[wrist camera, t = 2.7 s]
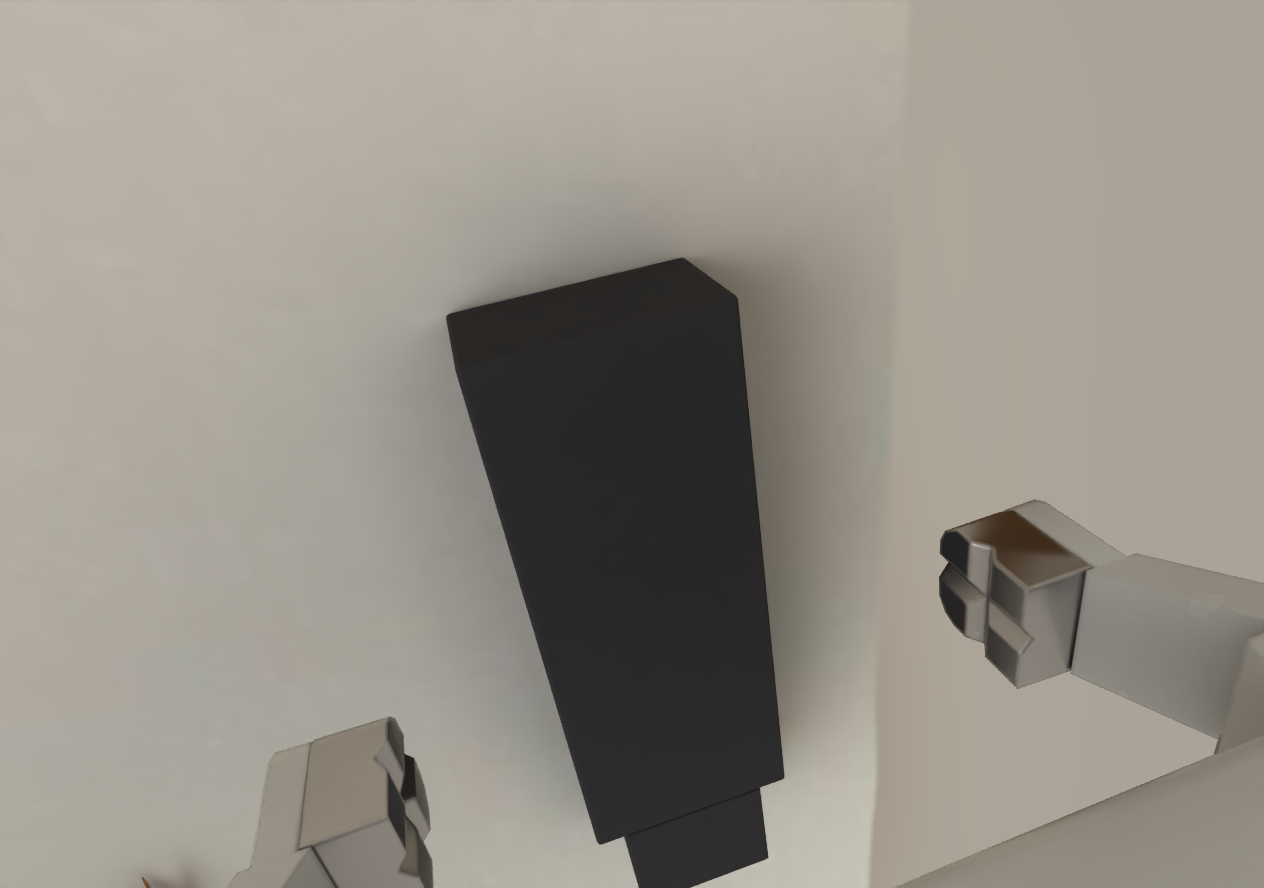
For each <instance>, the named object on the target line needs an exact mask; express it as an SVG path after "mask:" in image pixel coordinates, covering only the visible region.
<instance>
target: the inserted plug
mask: <svg viewBox="0 0 1264 888" xmlns="http://www.w3.org/2000/svg"><path fill="white" fill-rule="evenodd" d="M446 320H447V326H448V331H449V337H450V342H451V348H452V353H453V359H454V364H455V370H456V374H457V377H458V380H459V384H460V387H461V390H462V394H463V397H464V400H465V404H466V407H467V410H468V413H469V417H470V420H471V423H472V427H473V430H474V433H475V437H476V440H477V443H478V447H479V450H480V453H481V457H482V460H483V463H484V467H485V470H486V473H487V477H488V480H489V483H490V487H491V490H492V493H493V497H494V500H495V503H496V507H497V510H498V513H499V517H500V520H501V523H502V527H503V530H504V533H505V537H506V540H507V543H508V547H509V550H510V553H511V557H512V560H513V563H514V567H515V570H516V573H517V577H518V580H519V583H520V587H521V590H522V593H523V597H524V600H525V603H526V607H527V610H528V613H529V617H530V620H531V623H532V627H533V630H534V633H535V637H536V640H537V643H538V647H539V650H540V653H541V657H542V660H543V663H544V667H545V670H546V673H547V677H548V680H549V683H550V687H551V690H552V693H553V697H554V700H555V703H556V707H557V710H558V713H559V717H560V720H561V723H562V727H563V730H564V733H565V737H566V740H567V743H568V747H569V750H570V753H571V757H572V760H573V763H574V767H575V770H576V773H577V777H578V780H579V783H580V787H581V790H582V793H583V797H584V800H585V803H586V807H587V810H588V813H589V817H590V820H591V823H592V827H593V830H594V833H595V836H596V840H597V842H598V844H604V843H607V842H610V841H612V840H615V839H618V838H621V837H624V838H625V841H626V845H627V848H628V852H629V855H630V858H631V862H632V865H633V869H634V872H635V876H636V879H637V883H638V886H639V888H691V887H693V886H696V885H699V884H701V883H704V882H706V881H709V880H712V879H714V878H717V877H720V876H722V875H725V874H728V873H730V872H733V871H736V870H738V869H741V868H744V867H746V866H749V865H752V864H754V863H757V862H760V861H762V860H765V859H767V858H768V850H767V842H766V834H765V826H764V818H763V810H762V802H761V794H760V787H762V786H765V785H768V784H771V783H774V782H776V781H779V780H782V779H783V778H784V767H783V756H782V746H781V736H780V726H779V716H778V705H777V695H776V685H775V675H774V664H773V654H772V644H771V634H770V623H769V613H768V603H767V593H766V583H765V572H764V562H763V552H762V542H761V531H760V521H759V511H758V501H757V491H756V480H755V470H754V460H753V450H752V439H751V429H750V419H749V409H748V398H747V388H746V378H745V368H744V358H743V347H742V337H741V327H740V317H739V306H738V299H737V297H736V296H735V295H734V294H732V293H731V292H730V291H728V290H727V289H725V288H724V287H723V286H721V285H720V284H719V283H717V282H716V281H715V280H713V279H712V278H710V277H709V276H708V275H706V274H705V273H704V272H702V271H701V270H699V269H698V268H697V267H695V266H694V265H693V264H691V263H690V262H689V261H687V260H686V259H684V258H679V259H675V260H671V261H667V262H662V263H658V264H654V265H650V266H646V267H642V268H638V269H634V270H629V271H625V272H621V273H617V274H613V275H609V276H605V277H600V278H596V279H592V280H588V281H584V282H580V283H576V284H571V285H567V286H563V287H559V288H555V289H551V290H547V291H543V292H538V293H534V294H530V295H526V296H522V297H518V298H514V299H509V300H505V301H501V302H497V303H493V304H489V305H485V306H481V307H476V308H472V309H468V310H464V311H460V312H456V313H452V314H449V315H447V318H446Z"/></svg>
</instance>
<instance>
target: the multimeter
mask: <svg viewBox="0 0 1264 888" xmlns="http://www.w3.org/2000/svg"><path fill="white" fill-rule="evenodd" d="M142 880H143V882H144V884H145V886H146V888H151V887H150V885H149V884H148V883H147V882H146V880H145V879H144V878H143V877H142Z"/></svg>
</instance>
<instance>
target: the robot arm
mask: <svg viewBox="0 0 1264 888" xmlns="http://www.w3.org/2000/svg"><path fill="white" fill-rule="evenodd" d="M940 554H941V555H942V556H943V557H944V558H945V559H946V560H947V561H948V564H947V565H946V567H945V569H944V570H943V572H942V573H941V575H940V577H939V596H940V598H941V601H942V604H943V607H944V610H945V612H946V614H947V615H948V617H949V619H950V620H951V622H952V623H953V625H954V626H955V627H956V628H957V629H958V630H959V631H960V632H961V633H962V634H963V635H964V636H965V637H967V638H970V639H973V640H976V641H979V642H982V643H984V644H985V657H986V658H987V659H988V660H989V661H990V662H991V663H992V664H993V665H994V666H995V667H996V668H997V669H998V670H999V671H1000V672H1001V673H1002V674H1003V675H1004V676H1005V677H1006V678H1007V679H1008V680H1009V681H1010V682H1011V683H1012V684H1013V685H1014V686H1015V687H1016V688H1017V689H1018V688H1021V687H1025V686H1027V685H1030V684H1033V683H1036V682H1039V681H1042V680H1045V679H1048V678H1051V677H1054V676H1056V675H1059V674H1062V673H1065V672H1068V671H1071V674H1073V675H1075V676H1077V677H1079V678H1082V679H1084V680H1086V681H1088V682H1090V683H1093V684H1095V685H1097V686H1099V687H1102V688H1104V689H1106V690H1108V691H1111V692H1113V693H1115V694H1117V695H1120V696H1122V697H1124V698H1126V699H1128V700H1131V701H1133V702H1136V703H1137V704H1140V705H1142V706H1144V707H1146V708H1149V709H1151V710H1153V711H1155V712H1157V713H1160V714H1162V715H1164V716H1166V717H1169V718H1171V719H1173V720H1176V721H1178V722H1180V723H1182V724H1184V725H1187V726H1189V727H1191V728H1193V729H1196V730H1198V731H1200V732H1202V733H1204V734H1207V735H1209V736H1211V737H1213V738H1216V739H1218V742H1217V745H1216V749H1215V752H1214V755H1212V756H1210V757H1207V758H1205V759H1202V760H1200V761H1197V762H1195V763H1193V764H1190V765H1188V766H1185V767H1183V768H1180V769H1178V770H1176V771H1173V772H1171V773H1169V774H1166V775H1164V776H1161V777H1159V778H1156V779H1154V780H1151V781H1149V782H1147V783H1144V784H1142V785H1139V786H1137V787H1135V788H1132V789H1130V790H1127V791H1125V792H1122V793H1120V794H1118V795H1115V796H1113V797H1110V798H1108V799H1106V800H1103V801H1101V802H1098V803H1096V804H1094V805H1091V806H1089V807H1087V808H1084V809H1082V810H1079V811H1077V812H1074V813H1072V814H1069V815H1067V816H1065V817H1062V818H1060V819H1058V820H1055V821H1053V822H1050V823H1048V824H1045V825H1043V826H1041V827H1038V828H1036V829H1033V830H1031V831H1029V832H1026V833H1024V834H1021V835H1019V836H1016V837H1014V838H1012V839H1009V840H1007V841H1004V842H1002V843H1000V844H997V845H995V846H992V847H990V848H988V849H985V850H983V851H980V852H978V853H975V854H973V855H971V856H968V857H966V858H963V859H961V860H959V861H956V862H954V863H951V864H949V865H947V866H944V867H942V868H939V869H937V870H934V871H932V872H930V873H927V874H925V875H922V876H920V877H918V878H915V879H913V880H910V881H908V882H906V883H903V884H901V885H898V886H896V887H894V888H1264V583H1260V582H1256V581H1251V580H1248V579H1243V578H1239V577H1235V576H1230V575H1226V574H1222V573H1218V572H1213V571H1209V570H1205V569H1201V568H1196V567H1192V566H1188V565H1184V564H1179V563H1175V562H1171V561H1166V560H1162V559H1157V558H1154V557H1149V556H1145V555H1141V554H1133V555H1130V556H1125V555H1124V554H1122V553H1121V552H1119V551H1118V550H1116V549H1115V548H1113V547H1112V546H1110V545H1109V544H1107V543H1106V542H1104V541H1103V540H1101V539H1100V538H1098V537H1097V536H1096V535H1094V534H1092V533H1091V532H1090V531H1088V530H1087V529H1085V528H1083V527H1082V526H1081V525H1079V524H1077V523H1076V522H1074V521H1073V520H1072V519H1070V518H1069V517H1067V516H1066V515H1064V514H1063V513H1061V512H1060V511H1058V510H1056V509H1055V508H1054V507H1052V506H1051V505H1049V504H1047V503H1046V502H1043V501H1039V500H1032V501H1029V502H1026V503H1024V504H1021V505H1018V506H1015V507H1012V508H1009V509H1007V510H1005V511H1003V512H999V513H996V514H993V515H990V516H987V517H984V518H981V519H978V520H975V521H973V522H970V523H967V524H964V525H961V526H958V527H955V528H952V529H949V530H946V531H945V532H944V534H943V536H942V538H941V540H940ZM429 831H430V816H429V807H428V801H427V796H426V791H425V786H424V783H423V780H422V777H421V773H420V770H419V768H418V766H417V764H416V761H415V759H414V758H413V757H410V756H408V755H406V754H404V735H403V733H402V731H401V729H400V727H399V725H398V723H397V721H396V719H395V718H393V717H387V718H383V719H380V720H377V721H374V722H370V723H367V724H364V725H361V726H357V727H354V728H351V729H348V730H345V731H341V732H338V733H335V734H332V735H328V736H325V737H322V738H319V739H315V740H314V741H312V742H309V743H306V744H302V745H299V746H296V747H292V748H289V749H286V750H282V751H279V752H276V753H274V755H273V756H272V758H271V760H270V761H269V763H268V767H267V772H266V778H265V784H264V790H263V795H262V801H261V807H260V813H259V819H258V824H257V830H256V836H255V842H254V847H253V853H252V859H251V865H250V868H249V869H246V870H243V871H241V872H238V873H237V874H236V875H235V877H234V878H233V879H232V881H231V882H230V883H229V885H228V886H227V887H226V888H434V886H433V866H432V859H431V857H430V855H429V853H428V850H427V848H426V846H425V844H424V840H425V838H426V836H427V835H428V833H429Z"/></svg>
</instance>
